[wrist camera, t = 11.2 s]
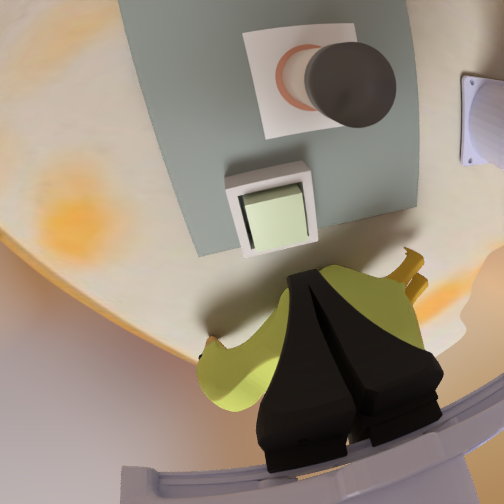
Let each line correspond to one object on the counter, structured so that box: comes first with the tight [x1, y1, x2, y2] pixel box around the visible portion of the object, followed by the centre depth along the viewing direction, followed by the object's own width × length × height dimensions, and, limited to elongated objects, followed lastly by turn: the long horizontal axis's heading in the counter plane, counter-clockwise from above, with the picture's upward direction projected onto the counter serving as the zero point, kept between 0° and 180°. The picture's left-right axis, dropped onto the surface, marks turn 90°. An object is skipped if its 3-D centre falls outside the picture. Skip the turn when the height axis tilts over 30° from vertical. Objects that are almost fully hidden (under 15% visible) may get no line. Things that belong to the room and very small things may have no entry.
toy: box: [196, 247, 428, 412], centre depth 22 cm, size 6×17×20 cm
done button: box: [243, 183, 308, 252], centre depth 19 cm, size 3×3×2 cm
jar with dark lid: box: [282, 42, 396, 128], centre depth 13 cm, size 4×4×7 cm
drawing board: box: [118, 0, 419, 258], centre depth 15 cm, size 18×23×2 cm
